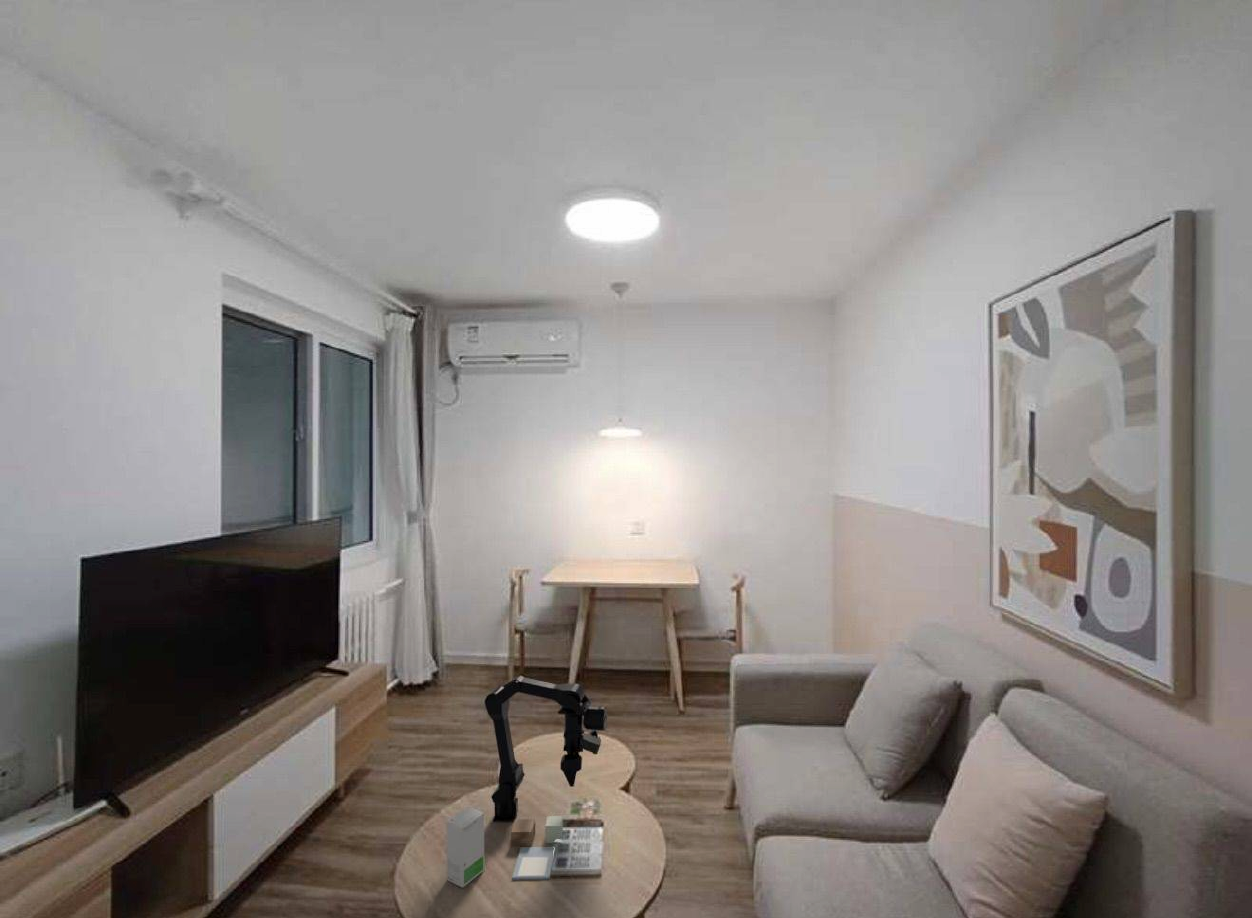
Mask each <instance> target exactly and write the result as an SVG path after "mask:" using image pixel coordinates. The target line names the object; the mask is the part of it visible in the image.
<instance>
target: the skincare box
mask: <svg viewBox="0 0 1252 918" xmlns="http://www.w3.org/2000/svg"><path fill="white" fill-rule="evenodd" d="M484 818H485V816H484V812H482V811H480V810H478V809H475V808H472V807H470V806H468V807H466V808H465V809H463V810H461V811H459V812H457V813H455V814H454V815H453V816H452V817H450V818H448V819H447V820H446V822H445V824H446V880H447V881H448V882H450V883H452V884H453V885H456V886H458V887H460V888H464V887H466V886H467V885H468V884H469V883H471V882H472V881H473V880H474V879H475V878H477V877H478V876H479V875H481V874H482V873H483V872H484V871H485V819H484Z"/></svg>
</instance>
